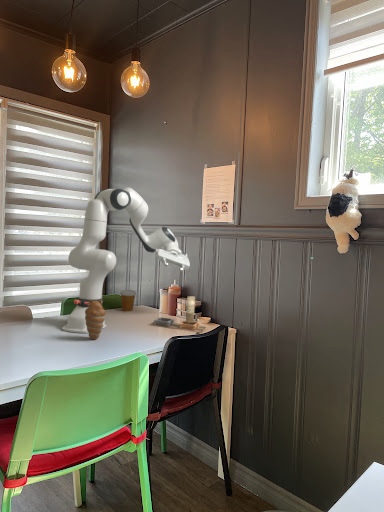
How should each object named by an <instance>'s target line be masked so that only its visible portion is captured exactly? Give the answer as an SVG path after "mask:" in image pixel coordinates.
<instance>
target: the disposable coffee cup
mask: <svg viewBox="0 0 384 512" xmlns="http://www.w3.org/2000/svg"><path fill="white" fill-rule="evenodd" d="M119 294H120V296H121V297H120V298H121V299H120V300H121V310H122V311H123V312H126V313H127V312H133V309H134V304H135V298H136V295H137V293H136V290H132V289H122V290H120V293H119Z"/></svg>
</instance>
